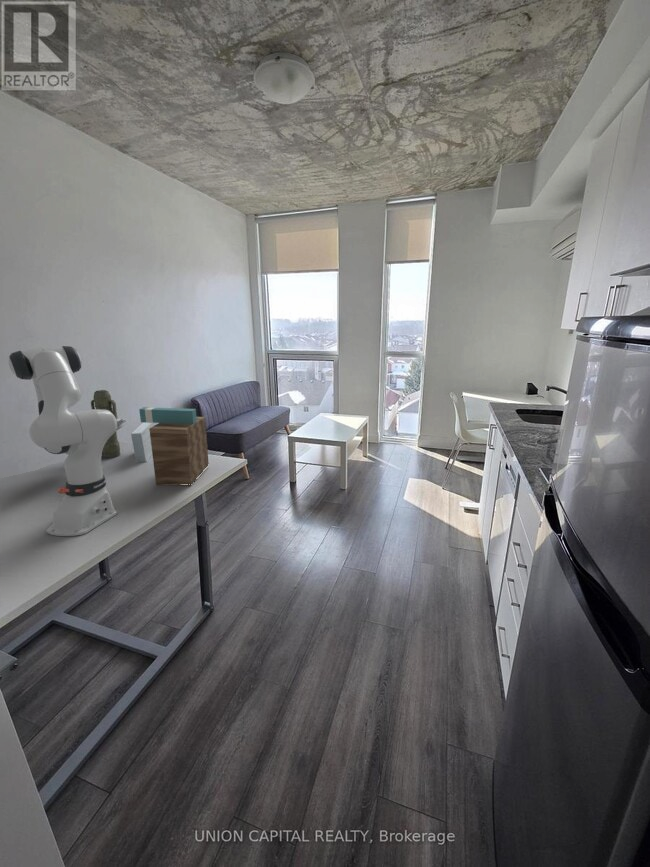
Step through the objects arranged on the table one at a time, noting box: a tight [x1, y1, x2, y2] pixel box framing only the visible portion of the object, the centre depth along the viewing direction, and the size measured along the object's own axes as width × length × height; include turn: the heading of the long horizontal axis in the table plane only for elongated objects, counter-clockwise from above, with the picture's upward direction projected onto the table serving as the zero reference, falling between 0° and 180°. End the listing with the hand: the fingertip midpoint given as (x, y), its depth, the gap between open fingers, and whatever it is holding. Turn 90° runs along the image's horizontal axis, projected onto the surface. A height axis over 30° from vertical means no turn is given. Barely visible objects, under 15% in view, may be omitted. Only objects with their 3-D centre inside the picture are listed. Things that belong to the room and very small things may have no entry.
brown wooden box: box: [149, 416, 210, 485], centre depth 168 cm, size 22×16×26 cm
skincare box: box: [130, 422, 154, 463], centre depth 193 cm, size 21×6×16 cm, turn 10°
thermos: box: [90, 389, 121, 459], centre depth 189 cm, size 9×12×35 cm
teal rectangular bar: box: [138, 406, 198, 424], centre depth 163 cm, size 4×24×6 cm, turn 87°
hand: (118, 422), depth 165 cm, fingers open, 8 cm apart
